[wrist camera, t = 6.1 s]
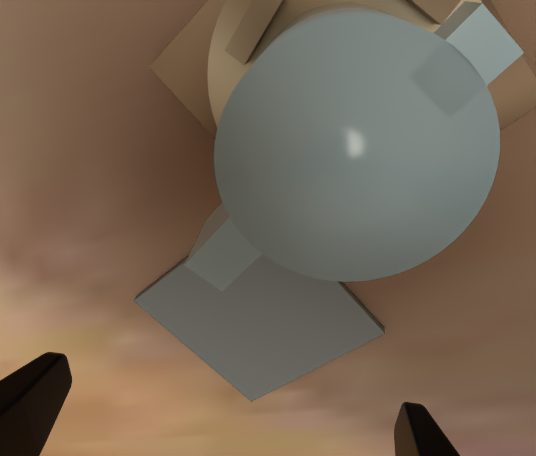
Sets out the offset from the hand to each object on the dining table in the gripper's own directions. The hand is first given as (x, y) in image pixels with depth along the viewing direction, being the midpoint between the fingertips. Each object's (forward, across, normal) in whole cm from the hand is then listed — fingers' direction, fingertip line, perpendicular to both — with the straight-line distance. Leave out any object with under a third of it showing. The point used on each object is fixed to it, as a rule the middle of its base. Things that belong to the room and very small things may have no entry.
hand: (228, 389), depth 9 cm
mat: (+12, +1, +8) cm, 14 cm away
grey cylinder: (+9, -1, -4) cm, 10 cm away
